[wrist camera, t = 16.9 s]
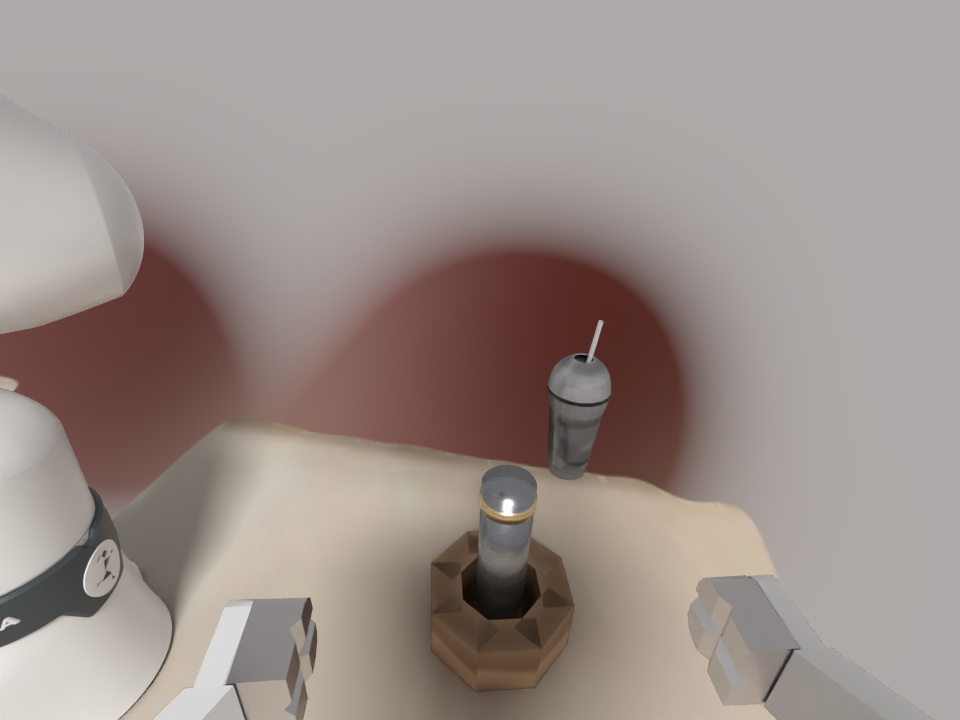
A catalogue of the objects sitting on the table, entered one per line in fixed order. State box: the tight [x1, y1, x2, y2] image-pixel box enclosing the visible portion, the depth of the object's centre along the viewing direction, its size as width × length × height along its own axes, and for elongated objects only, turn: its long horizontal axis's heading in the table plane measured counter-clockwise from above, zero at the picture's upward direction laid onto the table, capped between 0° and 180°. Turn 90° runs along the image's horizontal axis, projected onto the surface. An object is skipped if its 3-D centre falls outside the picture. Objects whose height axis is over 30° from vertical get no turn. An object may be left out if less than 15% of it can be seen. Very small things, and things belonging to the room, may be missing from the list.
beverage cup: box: [547, 320, 611, 480], centre depth 58 cm, size 7×7×20 cm
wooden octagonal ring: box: [431, 531, 575, 692], centre depth 44 cm, size 12×12×5 cm
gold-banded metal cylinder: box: [475, 465, 537, 620], centre depth 41 cm, size 4×4×16 cm
